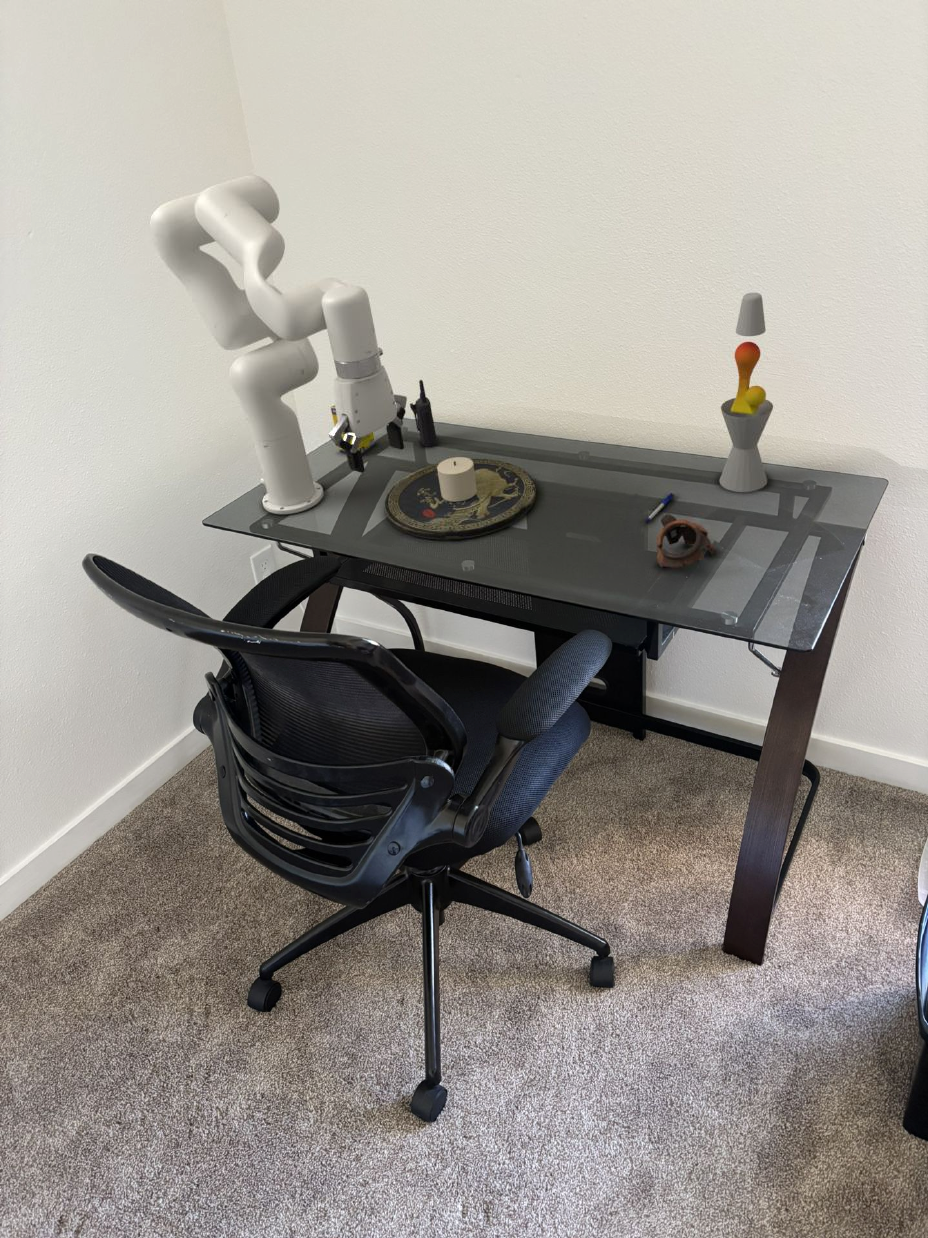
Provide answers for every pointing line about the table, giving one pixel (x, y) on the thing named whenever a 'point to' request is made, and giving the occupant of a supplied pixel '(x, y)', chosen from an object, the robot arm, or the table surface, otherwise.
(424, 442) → the two-way radio
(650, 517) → the ballpoint pen
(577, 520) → the table surface
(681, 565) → the pottery mug
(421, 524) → the decorative plate
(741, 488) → the lava lamp
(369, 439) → the supplement box
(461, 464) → the candle
